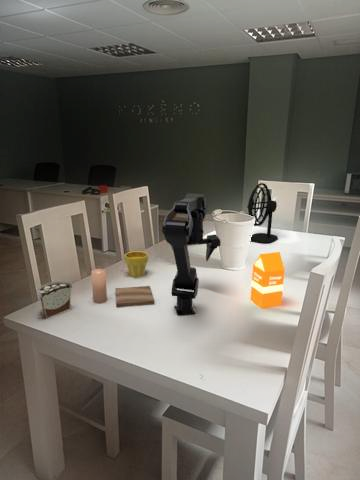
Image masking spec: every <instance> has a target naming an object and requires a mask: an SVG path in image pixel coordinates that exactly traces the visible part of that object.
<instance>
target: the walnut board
mask: <svg viewBox="0 0 360 480" xmlns="http://www.w3.org/2000/svg"><path fill="white" fill-rule="evenodd" d="M114 290H115V302H116V303H115V304H116V306H115V307H116V308H127V307H128V308H129V307H139V306H150V305H151V306H153V305H155V298H154V296H153V292H152V288H151V285H145V286H144V285H143V286H128V287H115V289H114Z"/></svg>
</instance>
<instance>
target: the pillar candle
mask: <svg viewBox="0 0 360 480" xmlns="http://www.w3.org/2000/svg"><path fill="white" fill-rule="evenodd" d="M90 272H91V274H90V275H91V287H92V301H93V303H94V304H103V303H106V302H107V301H108V293H107V292H108V290H107V271H106V269H105V268H95V269H92V270H91V271H90Z"/></svg>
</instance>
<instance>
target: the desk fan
mask: <svg viewBox="0 0 360 480" xmlns="http://www.w3.org/2000/svg"><path fill="white" fill-rule="evenodd" d="M258 189H259V190H258ZM257 190H258V192H257ZM264 190H265V191H266V193H265V191H264ZM270 191H271V190H269V188H268V185H267V184H266V183H263V182H260V183H258V184H257V185H256V186H255V188H254V189H253V190H252V191H251V194H250V197H249V199H248V203H247V207H246V208H247V211H248V212H247V213H248V216H249V215H251V216H253V217H254V220H255V224H254V225H253V226H254V227H255V226H256V227H259V226H261V225H263V224H264V223H265V222H266V219H268V220H267V227H266V233H265V232H256V233H252V234H251V235H252V237H251V242H256V243H260V244H270V243H272V242H275V241H276V240H278V238H279V237H278V235H276V234H271V232H272V221H273V213H275V211H277V206H278V205H277V201H276V200H273V199H272V195H271V192H270ZM261 193H262V199H261V201H260V195H261ZM255 194H256V197H255ZM254 198H255V200H254ZM264 209H265V211H264ZM258 210H260V214H259V215H258V216H257V212H258ZM253 211H254V212H253ZM263 213H264V215H263ZM260 219H261V220H260Z"/></svg>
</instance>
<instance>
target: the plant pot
mask: <svg viewBox="0 0 360 480" xmlns="http://www.w3.org/2000/svg"><path fill="white" fill-rule="evenodd" d="M148 262H149V254H148V252H145V251H139V250H135V251H134V250H133V251H129V252H126V253H125V254H124V263H125V264H126V266H127V271H128V274H129V277H131V278H141V277H143V276H144V275H145V271H146V267H147V263H148Z"/></svg>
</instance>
